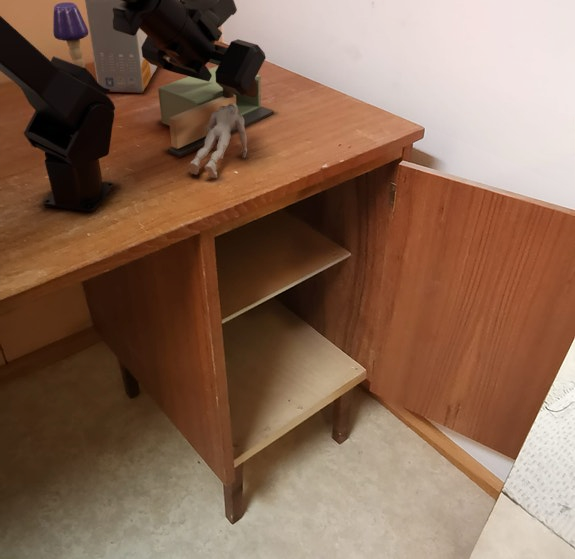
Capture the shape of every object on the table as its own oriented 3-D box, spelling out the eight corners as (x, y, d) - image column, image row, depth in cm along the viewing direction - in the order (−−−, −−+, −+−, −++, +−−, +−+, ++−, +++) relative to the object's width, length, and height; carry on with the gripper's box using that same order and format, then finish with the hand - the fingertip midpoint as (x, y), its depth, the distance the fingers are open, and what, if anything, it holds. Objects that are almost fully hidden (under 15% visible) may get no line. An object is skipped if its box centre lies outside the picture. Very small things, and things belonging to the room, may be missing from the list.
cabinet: (180, 157, 84) (176, 119, 80) (130, 135, 89) (125, 99, 86) (273, 113, 96) (274, 79, 93) (225, 96, 101) (224, 63, 98)
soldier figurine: (229, 193, 81) (259, 130, 87) (222, 166, 76) (254, 101, 82) (186, 185, 83) (218, 123, 88) (176, 157, 78) (211, 94, 84)
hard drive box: (144, 94, 101) (127, -39, 89) (98, 93, 101) (75, -40, 89) (160, 63, 113) (148, -58, 101) (119, 61, 113) (102, -59, 101)
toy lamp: (95, 129, 90) (73, 10, 80) (66, 126, 91) (40, 7, 81) (109, 116, 94) (90, 1, 84) (81, 113, 95) (58, -2, 84)
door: (178, 149, 84) (171, 76, 78) (170, 146, 85) (163, 73, 78) (238, 122, 91) (235, 53, 85) (230, 119, 92) (227, 51, 86)
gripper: (254, -24, 70) (309, 51, 84) (147, -47, 79) (212, 24, 93) (210, 62, 70) (271, 122, 84) (108, 29, 79) (178, 88, 93)
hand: (232, 86), depth 88 cm, fingers open, 9 cm apart
